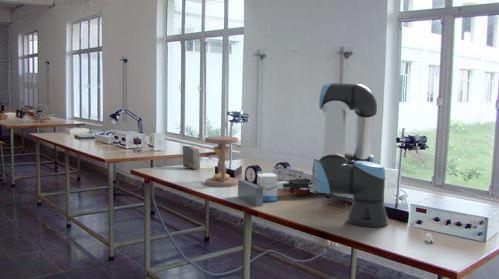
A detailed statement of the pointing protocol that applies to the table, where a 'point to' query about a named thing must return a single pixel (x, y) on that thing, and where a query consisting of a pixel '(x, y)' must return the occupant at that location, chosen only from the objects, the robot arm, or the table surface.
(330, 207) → the table surface
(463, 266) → the table surface
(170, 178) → the table surface
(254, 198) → the block
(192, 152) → the geological specimen
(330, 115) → the robot arm
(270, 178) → the ink box
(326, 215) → the table surface
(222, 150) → the hourglass
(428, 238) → the power adapter
